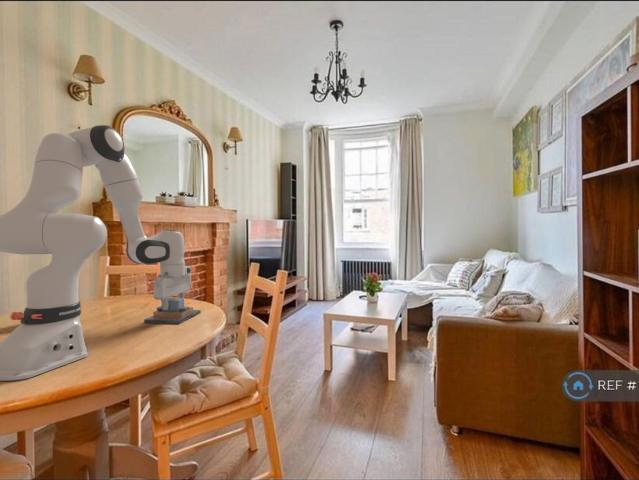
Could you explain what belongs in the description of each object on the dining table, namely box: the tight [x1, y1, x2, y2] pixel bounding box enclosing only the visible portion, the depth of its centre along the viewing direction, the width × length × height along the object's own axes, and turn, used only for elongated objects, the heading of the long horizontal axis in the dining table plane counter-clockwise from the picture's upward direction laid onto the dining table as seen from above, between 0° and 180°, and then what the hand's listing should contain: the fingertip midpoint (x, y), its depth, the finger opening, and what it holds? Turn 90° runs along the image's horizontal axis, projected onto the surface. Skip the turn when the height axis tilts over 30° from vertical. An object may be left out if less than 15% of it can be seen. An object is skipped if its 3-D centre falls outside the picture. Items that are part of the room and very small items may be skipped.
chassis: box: [143, 306, 201, 325], centre depth 131 cm, size 16×14×3 cm
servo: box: [156, 297, 190, 312], centre depth 131 cm, size 4×12×6 cm, turn 82°
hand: (173, 306), depth 131 cm, fingers open, 8 cm apart
